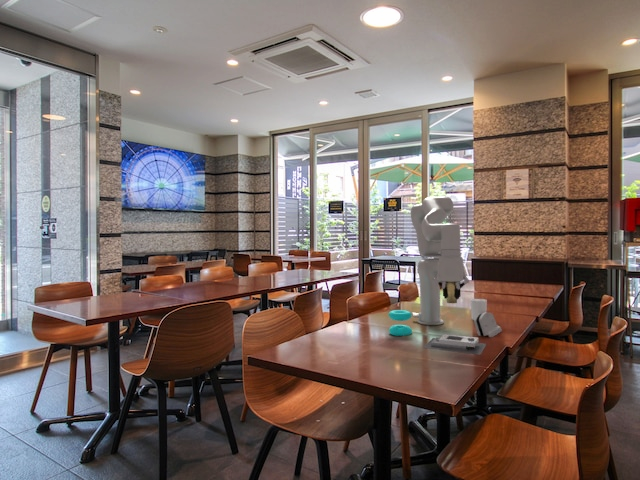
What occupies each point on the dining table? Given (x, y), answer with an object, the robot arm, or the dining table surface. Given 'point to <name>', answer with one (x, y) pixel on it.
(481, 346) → the mat
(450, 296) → the brass pin
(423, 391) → the dining table surface
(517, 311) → the dining table surface
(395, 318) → the donuts
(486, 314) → the white slotted device
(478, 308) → the white cup
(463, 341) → the grey block with hole
